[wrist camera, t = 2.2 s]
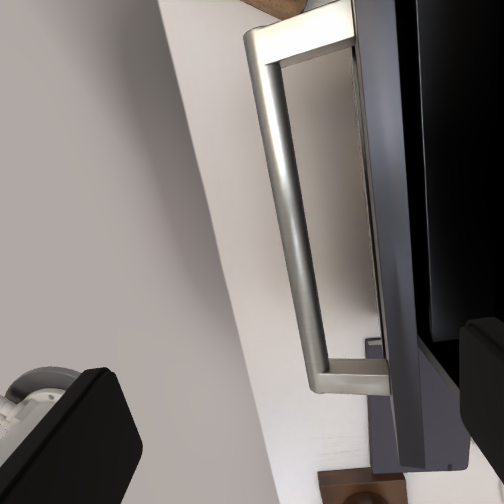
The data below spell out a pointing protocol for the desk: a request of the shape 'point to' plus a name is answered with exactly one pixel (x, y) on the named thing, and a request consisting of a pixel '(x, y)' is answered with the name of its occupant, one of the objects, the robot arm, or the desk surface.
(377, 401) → the notebook
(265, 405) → the desk surface
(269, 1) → the candle holder
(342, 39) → the oven door
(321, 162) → the desk surface
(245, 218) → the desk surface
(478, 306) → the oven
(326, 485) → the control block
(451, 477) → the desk surface
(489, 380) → the robot arm
